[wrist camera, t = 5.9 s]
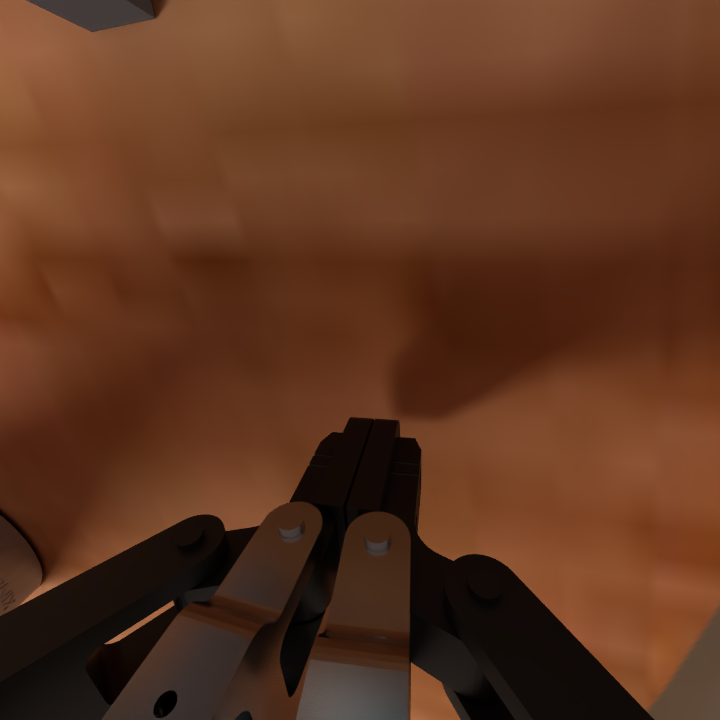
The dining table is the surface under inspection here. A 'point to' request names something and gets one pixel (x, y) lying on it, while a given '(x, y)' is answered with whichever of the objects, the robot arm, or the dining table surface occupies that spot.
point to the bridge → (99, 12)
